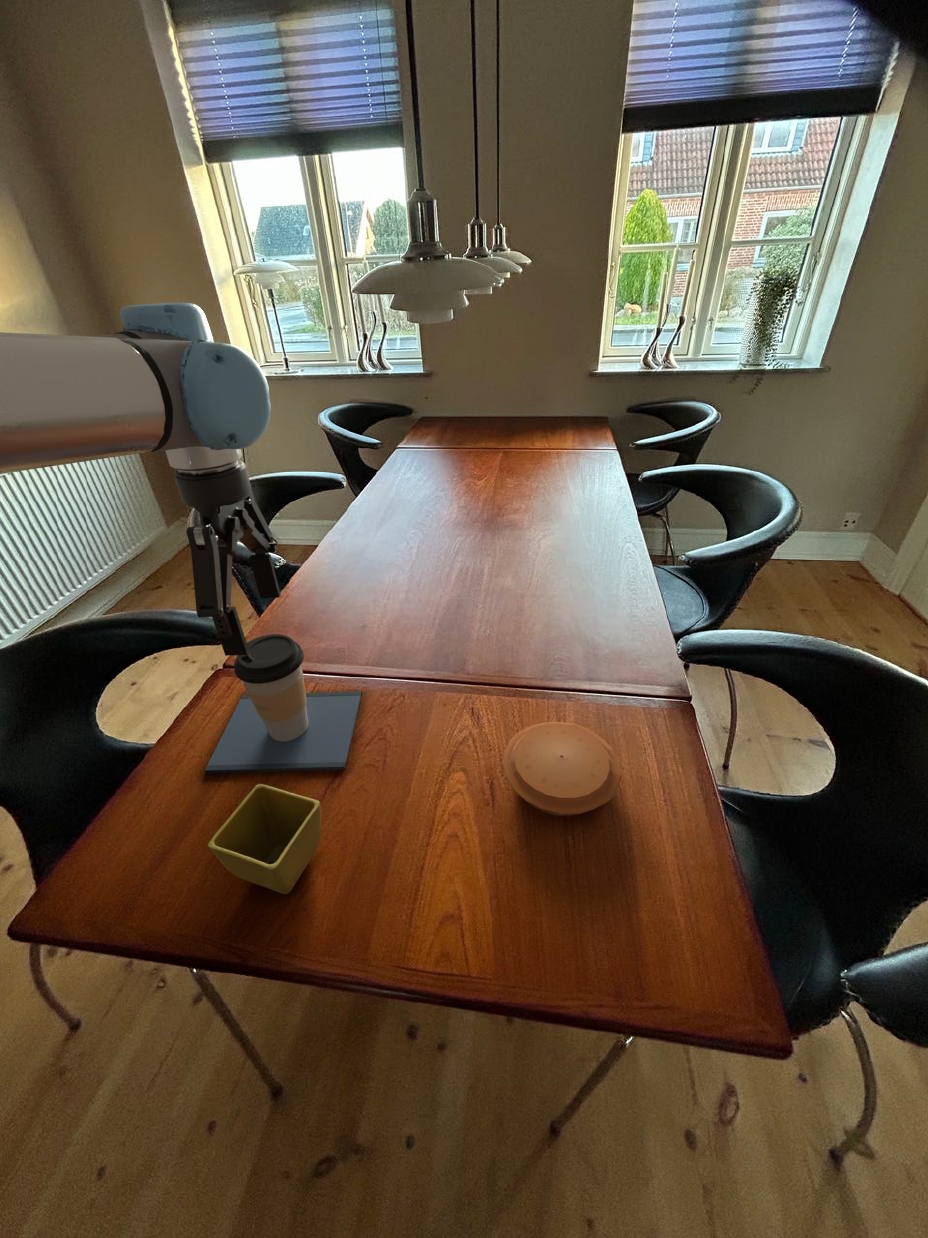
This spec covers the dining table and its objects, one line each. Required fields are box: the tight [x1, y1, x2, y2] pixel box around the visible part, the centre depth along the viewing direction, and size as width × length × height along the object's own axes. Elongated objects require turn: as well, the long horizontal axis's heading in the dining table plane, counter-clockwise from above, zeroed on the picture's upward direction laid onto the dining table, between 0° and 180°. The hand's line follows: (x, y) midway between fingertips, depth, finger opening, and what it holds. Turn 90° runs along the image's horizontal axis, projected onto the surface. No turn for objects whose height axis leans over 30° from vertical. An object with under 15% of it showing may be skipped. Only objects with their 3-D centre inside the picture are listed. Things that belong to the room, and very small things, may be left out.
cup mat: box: [204, 690, 363, 774], centre depth 82 cm, size 20×16×1 cm
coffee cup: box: [233, 633, 308, 742], centre depth 78 cm, size 9×9×15 cm
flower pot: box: [207, 783, 323, 895], centre depth 61 cm, size 9×9×9 cm
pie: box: [501, 721, 623, 817], centre depth 71 cm, size 16×16×5 cm
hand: (255, 623), depth 71 cm, fingers open, 13 cm apart
